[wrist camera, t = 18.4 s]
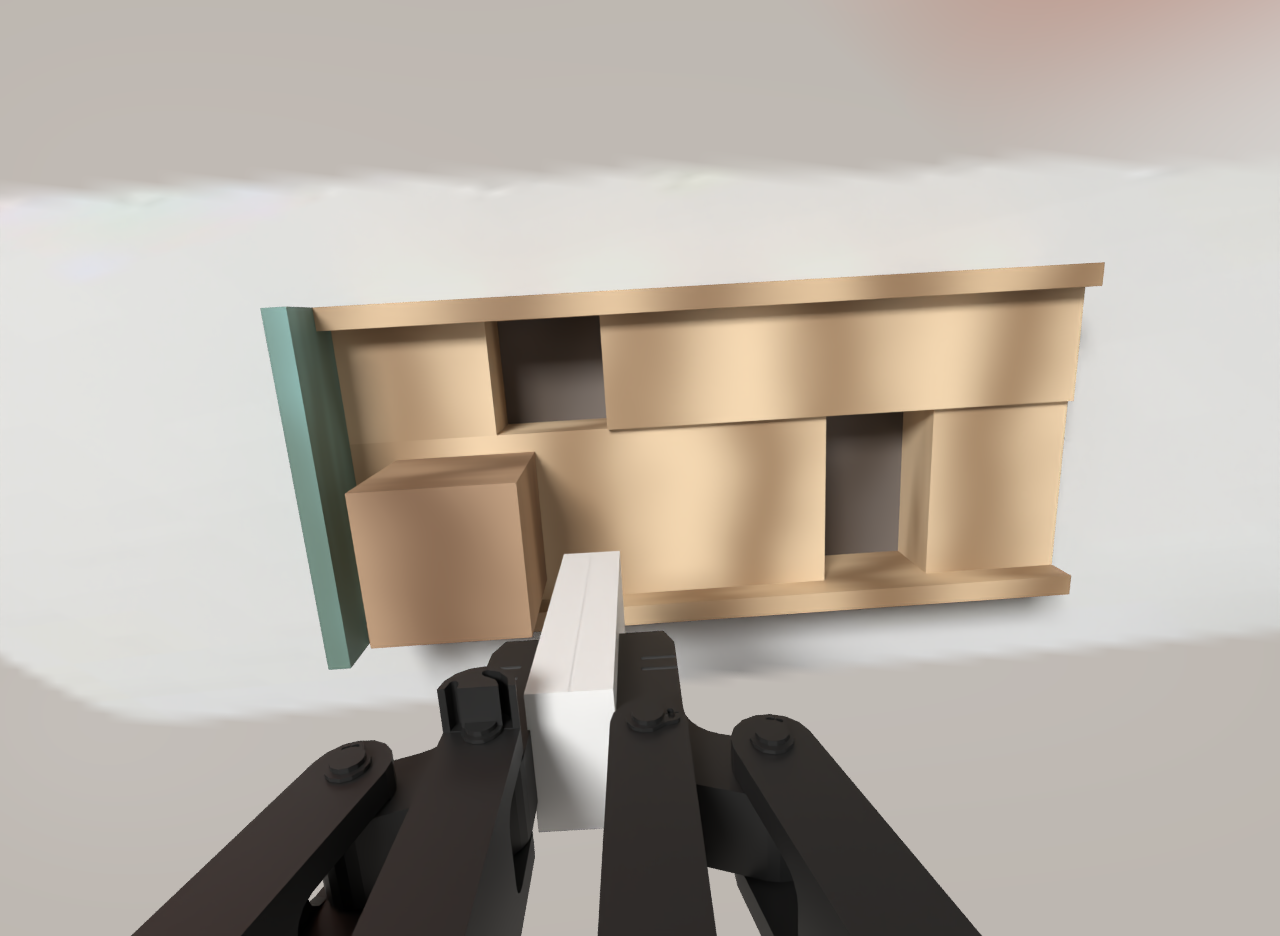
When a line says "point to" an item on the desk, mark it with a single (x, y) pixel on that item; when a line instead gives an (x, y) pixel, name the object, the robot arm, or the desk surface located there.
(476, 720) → the robot arm
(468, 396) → the tray
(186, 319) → the desk surface
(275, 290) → the desk surface
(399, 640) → the block
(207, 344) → the desk surface
